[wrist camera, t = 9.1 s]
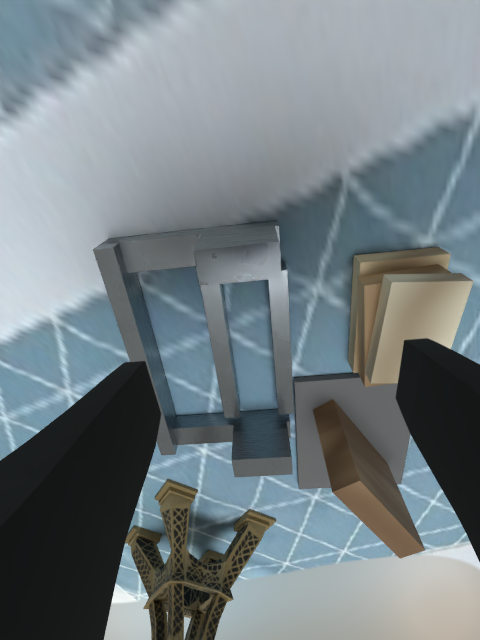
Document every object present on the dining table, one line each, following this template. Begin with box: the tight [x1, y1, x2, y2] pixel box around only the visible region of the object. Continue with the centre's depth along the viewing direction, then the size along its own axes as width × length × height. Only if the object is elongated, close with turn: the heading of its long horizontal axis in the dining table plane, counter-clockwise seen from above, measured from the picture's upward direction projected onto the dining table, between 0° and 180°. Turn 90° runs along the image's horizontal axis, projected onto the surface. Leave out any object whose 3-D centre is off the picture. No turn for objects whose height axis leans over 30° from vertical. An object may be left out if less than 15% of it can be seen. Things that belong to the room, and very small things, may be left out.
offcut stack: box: [348, 247, 473, 387], centre depth 18 cm, size 4×7×3 cm, turn 6°
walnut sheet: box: [313, 399, 425, 558], centre depth 21 cm, size 2×8×6 cm, turn 38°
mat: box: [294, 373, 410, 489], centre depth 24 cm, size 8×11×1 cm
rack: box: [93, 220, 294, 477], centre depth 19 cm, size 9×15×4 cm, turn 6°
